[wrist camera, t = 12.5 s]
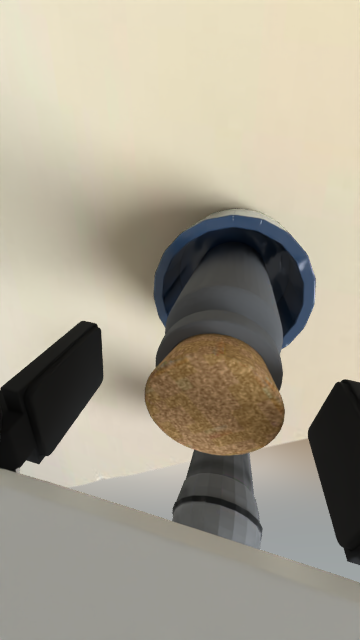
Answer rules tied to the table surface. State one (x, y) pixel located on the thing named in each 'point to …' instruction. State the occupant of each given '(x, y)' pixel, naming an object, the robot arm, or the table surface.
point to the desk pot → (262, 235)
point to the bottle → (221, 358)
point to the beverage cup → (220, 498)
